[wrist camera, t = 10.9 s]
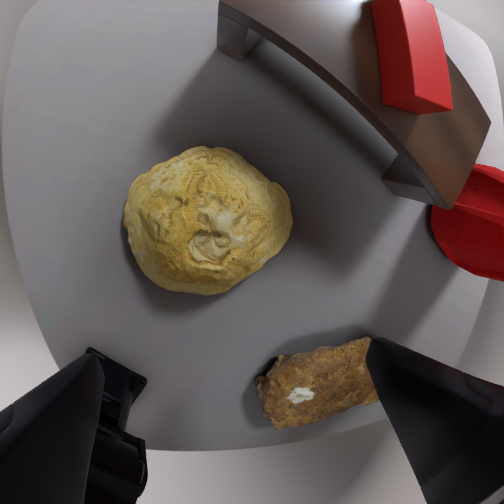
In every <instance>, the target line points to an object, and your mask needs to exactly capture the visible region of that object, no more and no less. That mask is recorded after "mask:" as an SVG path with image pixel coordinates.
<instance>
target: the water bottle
mask: <svg viewBox="0 0 504 504" xmlns="http://www.w3.org/2000/svg"><path fill="white" fill-rule="evenodd" d="M431 227H432V230H433V233H434V236H435V240H436V241H437V243H438V244H439V245H440V247H441V248H442V249H443V251H444V253H445V255H446V256H447V257H448V258H449V259H450V260H451V261H452V262H454V263H455V264H456V265H457V266H459V267H461V268H463V269H465V270H466V271H468V272H470V273H472V274H474V275H477V276H481V277H486V278H490V279H495V280H499V281H503V282H504V172H503V171H501V170H499V169H497V168H495V167H491V166H486V165H481V164H474V166H473V168H472V170H471V172H470V175H469V177H468V179H467V181H466V183H465V185H464V187H463V189H462V191H461V193H460V194H459V196H458V198H457V200H456V202H455V204H454V206H453V207H452V209H451V210H448V209H445V208H441V207H438V206H434V205H433V207H432V213H431Z"/></svg>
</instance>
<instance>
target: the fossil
mask: <svg viewBox="0 0 504 504" xmlns="http://www.w3.org/2000/svg"><path fill="white" fill-rule="evenodd" d="M124 213H125V217H124V220H123V225H124V227H125V228H126V229H127V230H128V242H129V244H130V246H131V250H132V253H133V254H134V256H135V258H136V261H137V263H138V264H139V266H140V268H141V270H142V271H143V273H144V274H145V275H146V276H147V277H148V278H149V279H150V280H151V281H153V282H154V283H156V284H157V285H158V286H159V287H163V288H165V289H167V290H171V291H176V292H186V293H192V294H202V295H207V296H210V295H213V294H219V293H224V292H226V291H228V290H229V289H230V288H232V287H233V286H235V285H236V284H237V283H239V282H241V281H242V280H244V279H246V278H247V277H249V276H251V275H252V274H253V273H255V272H257V271H259V270H260V269H261V268H262V267H263V265H264V263H265V262H266V261H267V260H268V259H270V258H272V257H273V256H274V255H276V254H278V252H279V251H280V250H281V248H282V247H283V246H284V244H285V243H286V241H287V239H288V237H289V235H290V230H291V228H292V227H293V218H292V214H291V206H290V200H289V198H288V195H287V193H286V191H285V190H284V189H283V188H282V187H281V186H280V185H279V184H278V183H276V182H271V181H269V179H268V178H266V177H265V176H264V175H263V174H262V172H260V171H258V170H257V169H256V168H255V167H253V166H252V165H250V164H249V163H247V161H246V160H245V159H244V158H243V157H242V156H240V155H239V154H237V153H235V152H233V151H231V150H229V149H226V148H223V147H215V148H213V149H212V148H208V147H206V146H198V147H194V148H190V149H187V150H186V151H184V152H182V153H181V154H180V155H179V156H174V157H173V158H171V159H170V160H168V161H165V162H161V163H158V164H156V165H154V166H153V167H152V168H151V169H149V171H148V172H147V173H143V174H142V175H140V176H138V177H137V178H136V180H135V181H134V182H133V184H132V185H131V187H130V189H129V191H128V200H127V202H126V204H125V209H124Z"/></svg>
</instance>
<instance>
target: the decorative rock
mask: <svg viewBox="0 0 504 504" xmlns="http://www.w3.org/2000/svg"><path fill="white" fill-rule="evenodd" d="M370 341H371V339H370V338H369V337H368V336H365V337H363V338H362V339H356V340H353V341H350V342H347V343H344V344H341V345H339V346H337V347H330V346H319V347H317V348H315V349H313V350H311V351H306V352H302V353H296V354H293V355H292V356H290V355H284V356H283V355H278V358H277V361H275V364H274V365H272V367H271V369H270V370H268V372H267V374H266V375H267V376H265V377H264V376H262V375H260V376H259V377H257V378H256V380H255V385H256V386H257V387H256V389H257V395H258V398H259V400H260V402H261V404H262V406H263V416H264V417H265V418H266V419H268V420H270V421H271V422H272V424H273V426H274V427H275V429H276V430H280V429H282V428H283V427H286V426H294V427H299V426H303V425H305V424H312V423H315V422H318V421H321V420H325V419H328V418H330V417H331V416H333V415H335V414H338V413H341V412H344V411H345V410H347V409H349V408H351V407H353V406H356V405H358V404H361V405H368V404H370V403H373V402H375V401H378V400H380V399H379V397H378V395H377V392H376V390H375V387H374V384H373V381H372V379H371V376H370V373H369V371H368V368H367V366H366V362H365V357H366V354H367V350H368V347H369V343H370Z"/></svg>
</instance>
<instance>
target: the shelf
mask: <svg viewBox="0 0 504 504" xmlns="http://www.w3.org/2000/svg"><path fill="white" fill-rule="evenodd" d="M373 1H374V0H220V1H219V5H218V26H217V49H219V50H221V51H222V52H224V53H226V54H227V55H229V56H231V57H232V58H234V59H236V60H237V61H240V60H241V59H242V58H243V57H244V56H245V55H246V54H247V53H248V52H249V51H250V50H251V49H252V48H253V47H254V46H255V45H256V44H257V43H258V42H259V41H260V40H261V39H262V38H263V37H264V38H265V39H267V40H269V41H270V42H272V43H273V44H275V45H276V46H278V47H279V48H281V49H282V50H284V51H285V52H286V53H288V54H289V55H291V56H292V57H293V58H295V59H296V60H298V61H299V62H300V63H302V64H303V65H304V66H306V67H307V68H308V69H310V70H311V71H312V72H313V73H315V74H316V75H317V76H318V77H320V78H321V79H322V80H323V81H325V82H326V83H327V84H328V85H329V86H331V87H332V88H333V89H334V90H335V91H336V92H337V93H339V94H340V95H341V96H342V97H343V98H344V99H345V100H346V101H348V102H349V103H350V104H351V105H352V106H353V107H354V108H355V109H356V110H357V111H358V112H359V113H360V114H361V115H362V116H363V117H364V118H365V119H366V120H367V121H368V122H369V123H370V124H371V125H372V126H373V127H374V128H375V129H376V130H377V131H378V132H379V133H380V134H381V135H382V136H383V137H384V138H385V139H386V140H387V142H388V143H389V144H390V145H391V146H392V147H393V148H394V149H395V150H396V152H397V153H398V154H399V155H398V156H397V158H396V159H395V161H394V162H393V164H392V165H391V167H390V168H389V170H388V171H387V173H386V174H385V176H384V177H383V179H382V181H383V182H384V183H385V184H386V185H387V186H388V187H389V188H390V189H391V191H392V192H393V193H394V194H395V195H397V196H401V197H405V198H409V199H412V200H416V201H420V202H424V203H427V204H431V205H434V206H438V207H441V208H445V209H448V210H451V209H452V207H453V206H454V204H455V202H456V200H457V198H458V196H459V194H460V193H461V191H462V189H463V187H464V185H465V183H466V181H467V179H468V177H469V175H470V172H471V170H472V168H473V166H474V164H475V162H476V159H477V157H478V155H479V153H480V150H481V148H482V145H483V143H484V140H485V138H486V135H487V133H488V130H489V128H490V125H491V121H490V119H489V117H488V115H487V114H486V112H485V110H484V108H483V107H482V105H481V103H480V102H479V100H478V98H477V97H476V95H475V93H474V92H473V90H472V89H471V87H470V86H469V84H468V83H467V81H466V80H465V78H464V77H463V75H462V74H461V72H460V71H459V70H458V68H457V67H456V66H455V64H454V63H453V61H452V60H451V59H450V58H449V56H448V55H447V54H446V53H445V54H446V59H447V65H448V71H449V78H450V85H451V94H452V105H453V111H447V112H438V113H429V114H421V115H420V114H416V113H413V112H410V111H407V110H403V109H400V108H396V107H393V106H389V105H385V104H383V98H382V83H381V71H380V61H379V52H378V45H377V38H376V31H375V25H374V19H373V14H372V9H371V3H372V2H373Z"/></svg>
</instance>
